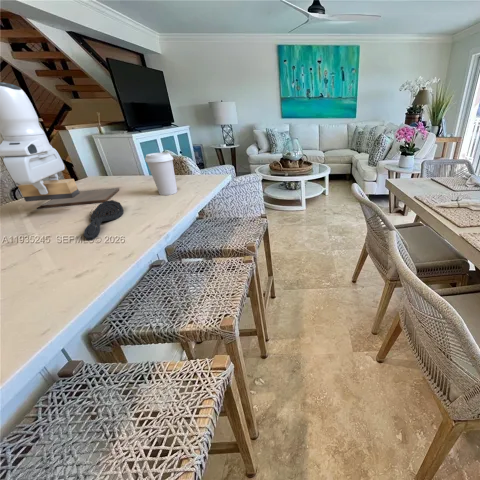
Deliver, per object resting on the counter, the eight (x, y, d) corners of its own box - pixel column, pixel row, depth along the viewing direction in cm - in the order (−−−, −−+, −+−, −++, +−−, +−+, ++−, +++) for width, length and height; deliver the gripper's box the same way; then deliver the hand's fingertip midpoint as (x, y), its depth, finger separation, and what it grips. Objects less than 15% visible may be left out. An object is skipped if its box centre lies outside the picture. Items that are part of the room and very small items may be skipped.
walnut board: (37, 208, 91) (35, 206, 90) (60, 195, 104) (59, 192, 104) (105, 202, 96) (104, 199, 96) (119, 190, 110) (118, 187, 109)
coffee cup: (153, 192, 107) (141, 153, 100) (178, 188, 112) (169, 151, 105) (157, 198, 100) (145, 157, 93) (184, 193, 105) (174, 154, 99)
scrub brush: (25, 201, 81) (17, 185, 79) (35, 196, 85) (27, 181, 83) (73, 197, 85) (66, 182, 82) (80, 193, 89) (73, 178, 87)
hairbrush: (65, 233, 67) (93, 199, 86) (72, 246, 68) (97, 209, 88) (105, 228, 70) (123, 196, 89) (110, 240, 71) (127, 206, 91)
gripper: (36, 141, 85) (55, 183, 92) (-10, 150, 68) (18, 201, 75) (60, 140, 87) (77, 181, 94) (21, 149, 70) (45, 199, 77)
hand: (50, 190), depth 84 cm, fingers closed on scrub brush, 5 cm apart
